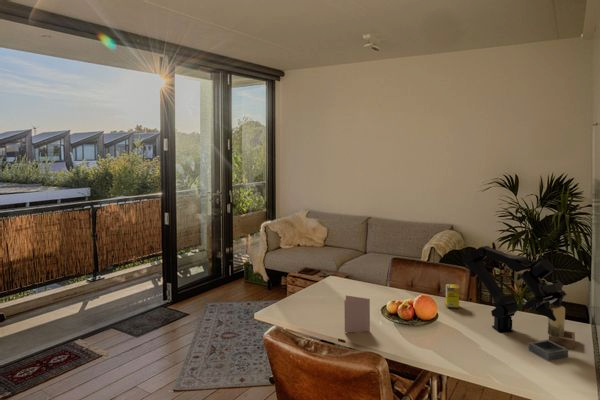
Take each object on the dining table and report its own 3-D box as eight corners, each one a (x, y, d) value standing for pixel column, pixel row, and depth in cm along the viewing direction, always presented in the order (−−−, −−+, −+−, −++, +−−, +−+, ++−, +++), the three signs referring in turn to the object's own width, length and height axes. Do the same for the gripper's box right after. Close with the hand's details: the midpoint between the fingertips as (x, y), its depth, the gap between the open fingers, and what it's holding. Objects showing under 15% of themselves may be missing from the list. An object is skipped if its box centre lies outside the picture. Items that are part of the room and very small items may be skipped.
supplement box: (459, 309, 219) (459, 287, 218) (446, 308, 221) (447, 287, 219) (457, 304, 225) (457, 284, 224) (445, 304, 226) (445, 283, 225)
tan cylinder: (548, 336, 170) (550, 308, 169) (546, 330, 175) (547, 304, 174) (565, 338, 168) (566, 310, 167) (562, 332, 173) (563, 305, 172)
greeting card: (370, 330, 196) (370, 298, 194) (364, 337, 189) (364, 303, 187) (346, 326, 201) (346, 294, 199) (340, 332, 194) (340, 299, 193)
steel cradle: (548, 361, 165) (548, 353, 164) (528, 350, 174) (528, 343, 173) (567, 357, 167) (568, 349, 167) (547, 346, 176) (547, 339, 176)
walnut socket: (548, 343, 179) (548, 335, 178) (549, 335, 186) (549, 327, 186) (574, 348, 174) (574, 340, 174) (574, 340, 182) (574, 332, 181)
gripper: (533, 277, 168) (560, 314, 160) (563, 270, 177) (590, 305, 168) (514, 291, 176) (539, 327, 168) (543, 284, 185) (568, 318, 176)
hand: (559, 319), depth 170 cm, fingers closed on tan cylinder, 5 cm apart
